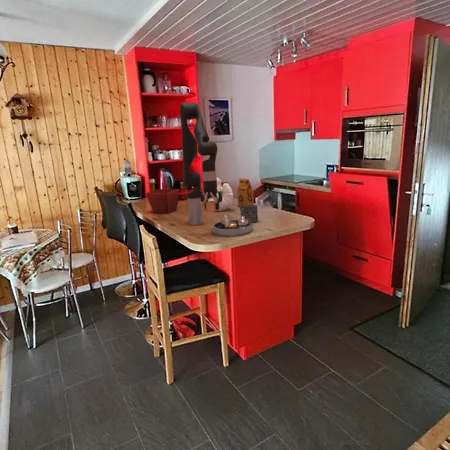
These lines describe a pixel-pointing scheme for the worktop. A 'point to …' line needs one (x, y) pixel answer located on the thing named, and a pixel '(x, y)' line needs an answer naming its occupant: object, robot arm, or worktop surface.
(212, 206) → the planet gear
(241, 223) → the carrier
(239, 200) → the coffee package
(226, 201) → the decorative rooster
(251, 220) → the small box
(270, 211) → the worktop surface
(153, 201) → the plant pot
